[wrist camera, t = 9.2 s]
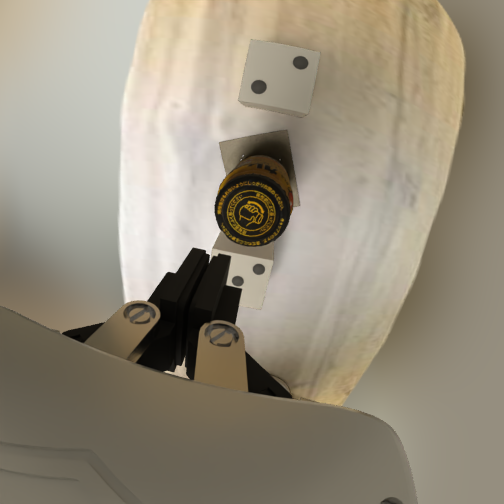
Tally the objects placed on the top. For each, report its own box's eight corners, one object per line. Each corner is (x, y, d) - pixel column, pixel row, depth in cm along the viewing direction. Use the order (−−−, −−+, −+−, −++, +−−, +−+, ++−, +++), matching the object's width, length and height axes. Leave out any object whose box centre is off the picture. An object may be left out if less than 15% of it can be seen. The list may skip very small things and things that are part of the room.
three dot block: (274, 237, 32) (274, 261, 26) (263, 281, 34) (261, 310, 29) (222, 227, 32) (212, 248, 26) (216, 271, 34) (205, 299, 29)
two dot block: (312, 67, 23) (321, 52, 18) (302, 117, 26) (309, 114, 20) (255, 56, 23) (250, 38, 18) (245, 106, 26) (237, 100, 20)
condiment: (235, 215, 31) (214, 265, 20) (219, 142, 28) (185, 150, 17) (299, 205, 30) (314, 250, 19) (287, 129, 27) (296, 128, 16)
